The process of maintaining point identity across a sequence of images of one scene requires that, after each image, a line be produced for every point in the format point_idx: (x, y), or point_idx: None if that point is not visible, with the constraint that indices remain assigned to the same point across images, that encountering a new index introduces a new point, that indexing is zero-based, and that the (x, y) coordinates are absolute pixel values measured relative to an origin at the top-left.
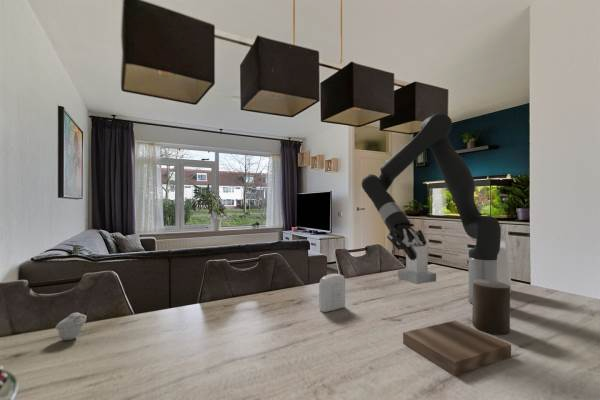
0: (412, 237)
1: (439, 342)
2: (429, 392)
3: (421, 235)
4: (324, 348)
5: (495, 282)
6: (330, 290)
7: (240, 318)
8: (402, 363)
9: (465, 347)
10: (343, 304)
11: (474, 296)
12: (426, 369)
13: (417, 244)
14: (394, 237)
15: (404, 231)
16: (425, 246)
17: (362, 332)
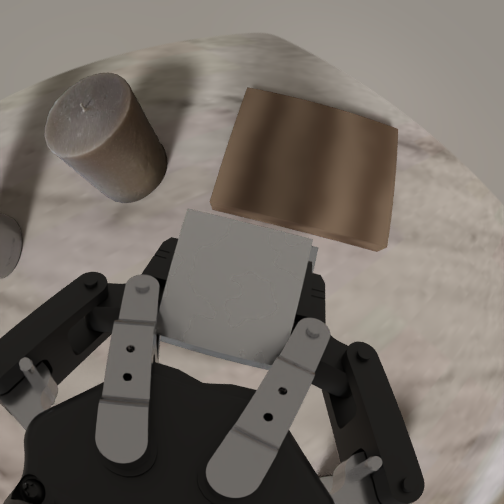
0: (161, 375)
1: (361, 171)
2: (446, 151)
3: (36, 334)
4: (490, 329)
5: (68, 109)
6: None
7: (494, 490)
8: (430, 210)
9: (335, 131)
10: (326, 480)
11: (126, 157)
12: (412, 175)
13: (181, 308)
14: (405, 433)
15: (251, 456)
16: (212, 214)
17: (404, 342)
